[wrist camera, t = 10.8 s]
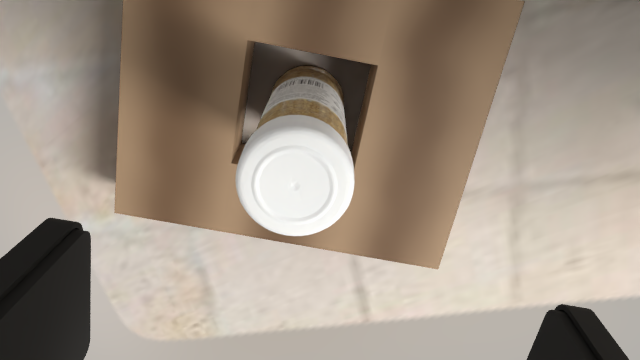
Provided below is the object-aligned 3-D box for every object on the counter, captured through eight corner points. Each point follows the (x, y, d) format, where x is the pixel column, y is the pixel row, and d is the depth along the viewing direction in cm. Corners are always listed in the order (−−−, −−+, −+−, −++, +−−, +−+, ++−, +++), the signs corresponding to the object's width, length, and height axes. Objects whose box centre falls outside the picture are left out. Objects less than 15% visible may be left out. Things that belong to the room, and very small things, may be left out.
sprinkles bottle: (265, 128, 32) (224, 227, 20) (278, 55, 31) (243, 116, 18) (336, 143, 33) (340, 250, 20) (353, 72, 31) (368, 142, 18)
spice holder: (502, -3, 29) (524, 1, 26) (428, 241, 35) (438, 269, 32) (149, -75, 28) (126, -81, 25) (134, 189, 34) (114, 212, 31)
